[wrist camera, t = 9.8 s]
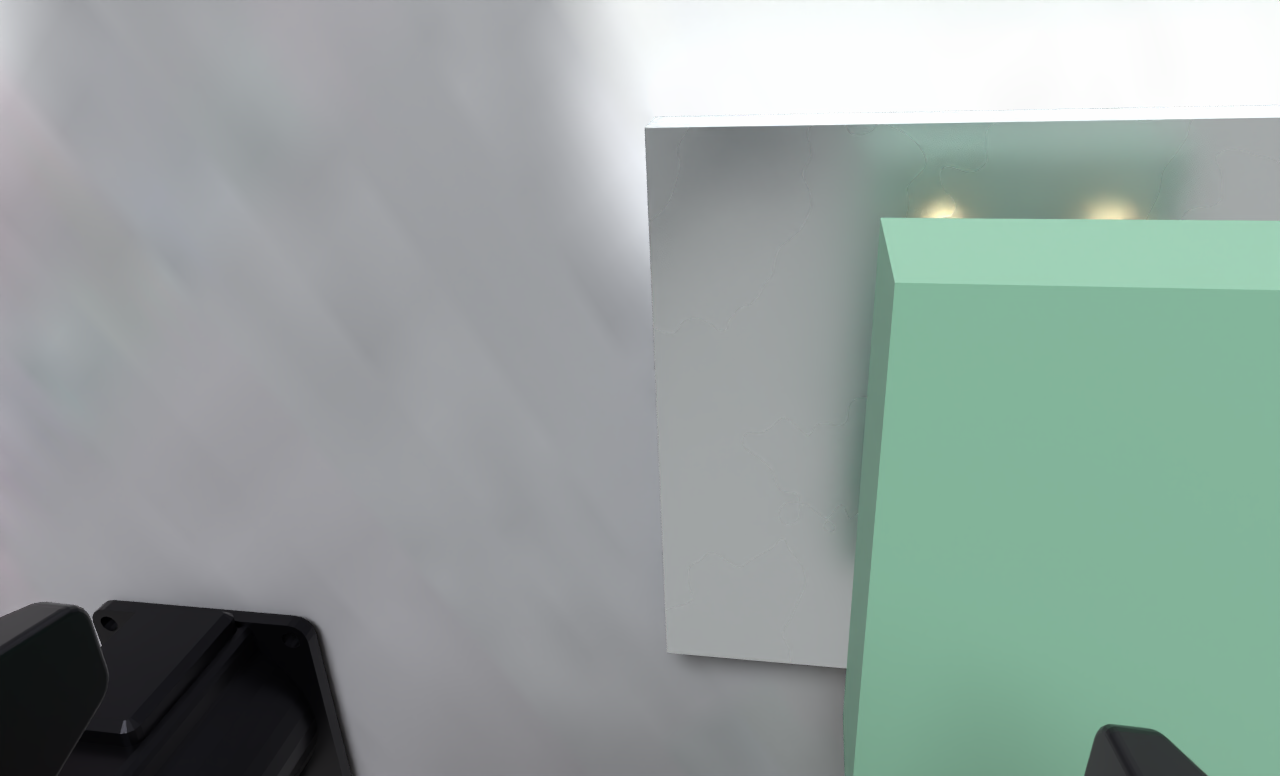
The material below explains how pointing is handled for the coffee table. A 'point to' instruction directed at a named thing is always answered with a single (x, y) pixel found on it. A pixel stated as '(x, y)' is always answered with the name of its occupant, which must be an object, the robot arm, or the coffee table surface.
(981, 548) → the mint green rectangular block
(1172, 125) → the white peg board
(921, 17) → the coffee table surface
